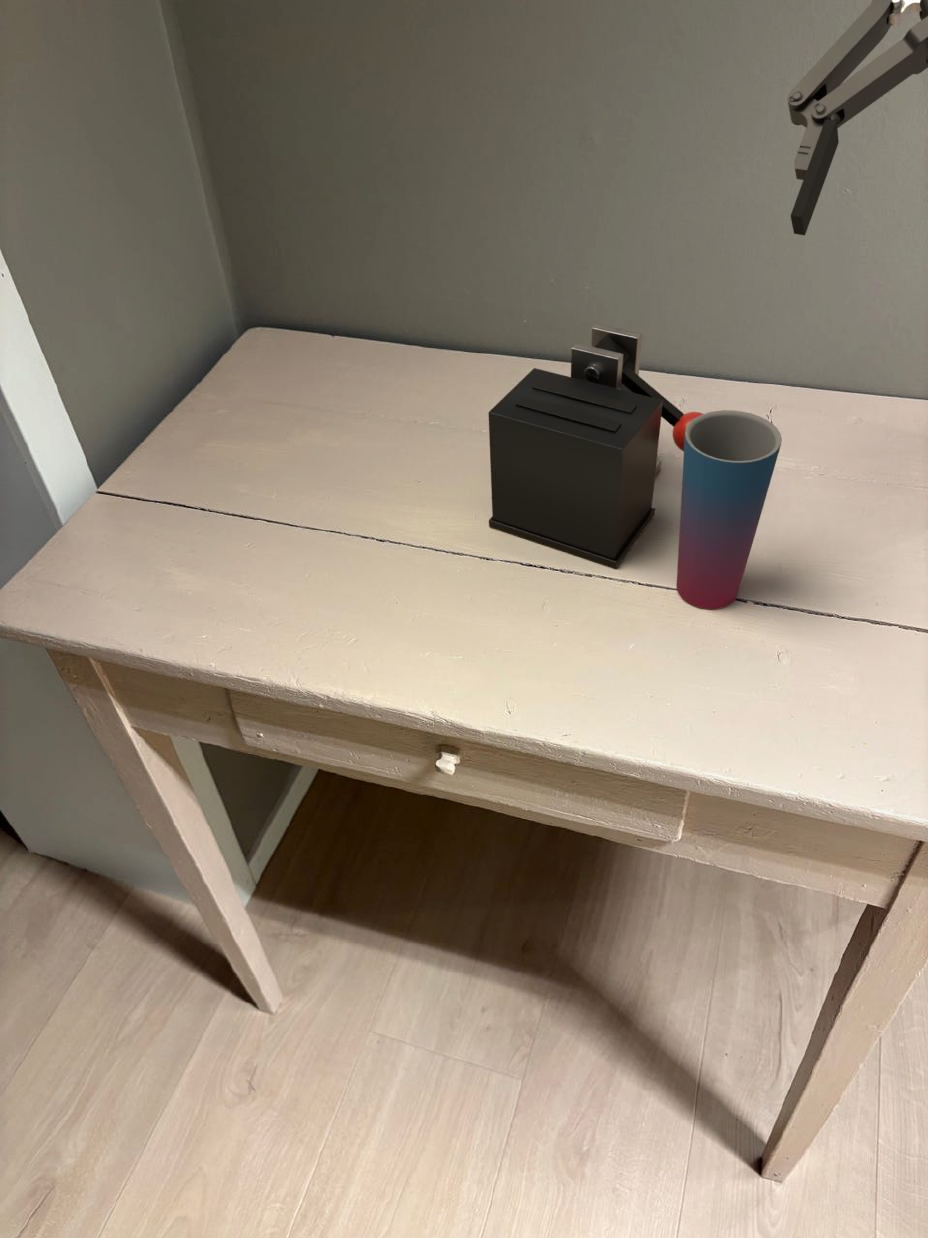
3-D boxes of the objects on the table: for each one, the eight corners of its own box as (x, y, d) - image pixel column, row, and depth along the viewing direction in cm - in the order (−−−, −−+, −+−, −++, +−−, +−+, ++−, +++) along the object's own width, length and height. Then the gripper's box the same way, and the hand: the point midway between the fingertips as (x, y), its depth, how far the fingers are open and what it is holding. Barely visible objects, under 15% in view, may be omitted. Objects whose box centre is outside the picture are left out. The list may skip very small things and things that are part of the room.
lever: (704, 447, 86) (728, 423, 84) (689, 468, 84) (714, 443, 81) (592, 353, 86) (613, 325, 84) (574, 372, 84) (595, 343, 81)
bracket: (660, 469, 92) (675, 337, 82) (635, 503, 88) (647, 369, 79) (567, 443, 96) (570, 314, 86) (539, 474, 92) (539, 343, 83)
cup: (697, 551, 83) (720, 399, 73) (765, 587, 79) (800, 432, 69) (648, 590, 80) (665, 437, 69) (717, 629, 76) (746, 474, 66)
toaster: (654, 515, 87) (667, 398, 79) (616, 569, 82) (625, 450, 74) (532, 478, 92) (532, 364, 84) (488, 526, 87) (483, 410, 79)
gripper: (1239, -33, 59) (1109, 302, 60) (827, -52, 69) (724, 236, 70) (1286, -130, 52) (1137, 251, 53) (821, -135, 62) (707, 186, 63)
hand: (902, 243), depth 62 cm, fingers open, 13 cm apart
